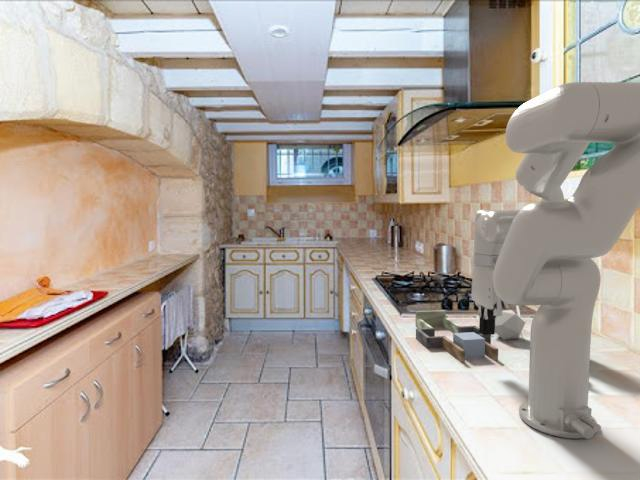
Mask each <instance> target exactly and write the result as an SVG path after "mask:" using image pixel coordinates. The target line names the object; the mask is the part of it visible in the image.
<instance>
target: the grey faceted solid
mask: <svg viewBox="0 0 640 480" xmlns="http://www.w3.org/2000/svg"><path fill="white" fill-rule="evenodd" d="M525 325H526V322H525V320H524V319H522V318H521V317H520V316H519V315H518V314H517V313H516V312H515V311H514V310H512V309H504V310H502V316H497V318H496V319H495V333H496V334H497V336H499V337H500V338H501V339H502V340H503V341H507V340H513V339H514V340H516V339H519V338H520V336H521V334H522V331H523V329H524V328H525Z"/></svg>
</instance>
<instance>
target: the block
mask: <svg viewBox="0 0 640 480" xmlns="http://www.w3.org/2000/svg"><path fill="white" fill-rule="evenodd" d="M452 334H453V335H452V336H453V337H452V342H454V343H455V344H456V345H458V346H459V347H460V348H462V349H463V350H465V359H469V358H470V359H473V358H484V357H486V355H485V338H483V337H481V336H480V335H478V334H476V333H474V332H466V333H453V332H452Z"/></svg>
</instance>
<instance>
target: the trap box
mask: <svg viewBox="0 0 640 480" xmlns="http://www.w3.org/2000/svg"><path fill="white" fill-rule="evenodd" d="M446 313H447V311H446V309H440V310H418V311H416V310H415V327H416V328H415V339H416V340H417V341H418V342H420V344H422V346H424V347H425V348H426V349H440V348H442V349H444V351H446V352H448V353H449V354H450V356H452V357H454V358H455V359H456V360H457V361H458V362H460V363H466V358H465V350H463V349H462V348H460V347H459V346H458V345H456V344H455V343H454V342H453V340H452V339H450V338H448V337H447V336H445V335H436V336H435V331H436V330H435V328H434V327H440V326H441V327H444V328H446V330H448V331H450V332H451V333H452V334H453V333H466V332H474V333H476V334H478V335H480V336H481V337H483V338H485V356H487V357H488V358H490V359H491V360H492V361H499V348H497V347H496V346H494V345H492V344H491V342H492V340H491V339H492V335H483V334H481V333H480V332H479V326H478V325H477V326H476V325H466V326H462V325H460V324H458V323H457V322H456V321H453V320H452V319H450V318H448V317H447V316H446V315H447V314H446Z"/></svg>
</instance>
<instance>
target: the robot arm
mask: <svg viewBox="0 0 640 480" xmlns="http://www.w3.org/2000/svg"><path fill="white" fill-rule="evenodd" d="M507 122H508V123H507V125H506V129H505V142H506V146H507V147H508V149H509V150H511V152H513V153H516V154H524V156H523V157H522V160H520V161H521V162H520V163H519V164H518V166H517V168H516V171H515V179H516V182H517V183H518V184H519V185H520V187H522V188H523V189H524V190H526V191H527V192H528V193H530V194H532V195H534V196H536V197H538V198H541V200H539V201H535V202H532V203H529V204H527V205H526V206H524V207H523V208H521V209H510V210H502V209H480V210H478V211H477V212H476V213H475V216H474V233H473V234H474V235H473V237H474V238H473V262H472V263H473V265H472V266H473V271H472V279H471V280H472V281H471V299H472V301H473V302H474V305H475V306H476V307H477V308H478V316H479V325H478V328H479V332H480V333H481V334H483V335H491V336H492V335H495V333H496V332H495V319H496V318H497V316H502V311H503V310H509V308H510V307H509V306H510V305H511V306H539V307H538V309H537V310H536V312H535V314H534V316H533V317H532V320H531V324H530V337H529V339H530V340H529V371H528V372H529V373H528V400H526V401H523V402H522V403H521V404H520V405H519V407H518V415H519V417H520V419H521V420H522V421H523V422H524V423H525V424H527V425H528V426H530V427H532V428H533V429H535V430H537V431H539V432H542V433H544V434H547V435H551V436H555V437H559V438H564V439H587V440H588V439H589V440H590V439H592V438H593V437H594V435H595V434H596V433H599V432H600V431H601V429H602V427H601V425H600V424H599V423H598V422H597V420H596V418H594V417H593V415H592V408H591V407H590V406H589V390H590V389H589V387H590V384H589V383H590V365H591V364H590V362H591V361H590V360H591V345H592V344H591V343H592V323H593V318H594V317H593V316H594V310H595V306H596V303H597V299H598V295H599V292H600V289H601V281H602V280H601V272H600V269H599V266H598V265H597V263H596V262H595V261H594V260H593V259H594V258H600V257H602V256H605V255H606V254H608V253H609V252H610V251H612V249H613V247H614V246H615V245H616V244H617V243H618V241H619V239H620V237H621V236H622V234H623V233H624V231H625V229H626V227H628V225H629V223H630V222H631V220H632V218H633V216H634V215H635V214H636V212H637V210H638V208H639V207H640V82H626V81H625V82H622V81H621V82H619V81H615V82H614V81H613V82H610V81H609V82H605V81H604V82H601V81H598V82H597V81H579V82H578V81H577V82H567V83H563V84H561V85H557V86H556V87H554V88H551V89H549V90H547V91H545V92H543V93H542V94H539V95H537V96H535V97H533V98H531V99H529V100H528V101H526V102H524V103H523V104H521V105H520V106H519V107H518V108H517V109H516V110H515V111H514V112H513V114H512V115H511V116H510V118H509V120H508V121H507ZM590 143H594V144H595V143H598V144H599V143H602V144H603V143H614V146H613V147H612V148H611V149H610V150H608V151H607V152H606V153H605V154H603V155H602V156H600V157H599V158H598V159H597V160H596V161H594V162H593V163H592V165H591V166H590V167H589V168H588V169H587V170H586V171H585V173H584V174H583V175H582V178H581V179H580V181H579V184H578V185H577V188H576V189H575V191H574V192H573V194H572V195H571V196H570V197H569V198H568V199H565V196H564V193H563V190H562V188H561V186H562V184H563V183H564V182H565V181H566V180H567V178H568V176H569V175H570V174H571V172H572V171H573V169H574V168H575V166H576V165H577V163H578V162H579V160H580V159H581V157H582V156H583V154H584V153H585V151H586V150H587V148H588V147H589V145H590Z"/></svg>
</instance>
